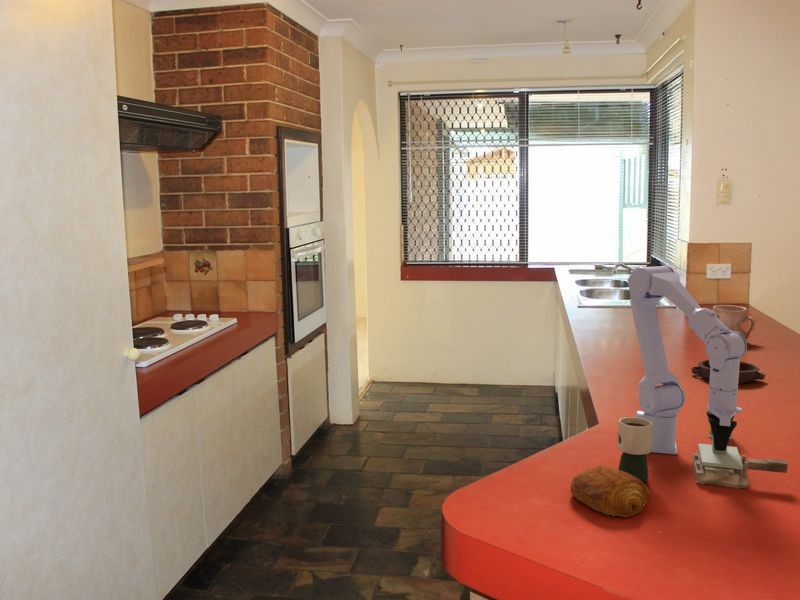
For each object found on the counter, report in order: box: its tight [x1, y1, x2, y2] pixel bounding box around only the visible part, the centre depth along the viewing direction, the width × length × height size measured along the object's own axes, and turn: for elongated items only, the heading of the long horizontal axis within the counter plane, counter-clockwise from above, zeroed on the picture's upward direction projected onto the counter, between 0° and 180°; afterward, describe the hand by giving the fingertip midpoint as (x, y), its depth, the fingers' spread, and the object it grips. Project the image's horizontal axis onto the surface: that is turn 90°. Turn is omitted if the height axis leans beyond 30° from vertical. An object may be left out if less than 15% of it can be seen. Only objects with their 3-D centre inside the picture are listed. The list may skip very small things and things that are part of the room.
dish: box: [690, 359, 766, 385], centre depth 246 cm, size 18×22×5 cm
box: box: [691, 452, 749, 490], centre depth 166 cm, size 10×12×6 cm
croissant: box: [570, 465, 651, 518], centre depth 152 cm, size 14×16×8 cm
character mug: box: [616, 416, 653, 483], centre depth 163 cm, size 11×7×13 cm, turn 151°
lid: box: [697, 434, 743, 469], centre depth 165 cm, size 8×11×5 cm
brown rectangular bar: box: [745, 457, 788, 474], centre depth 160 cm, size 8×2×2 cm, turn 73°
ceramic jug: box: [712, 304, 756, 341], centre depth 301 cm, size 18×14×14 cm
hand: (719, 447), depth 167 cm, fingers closed on lid, 3 cm apart
